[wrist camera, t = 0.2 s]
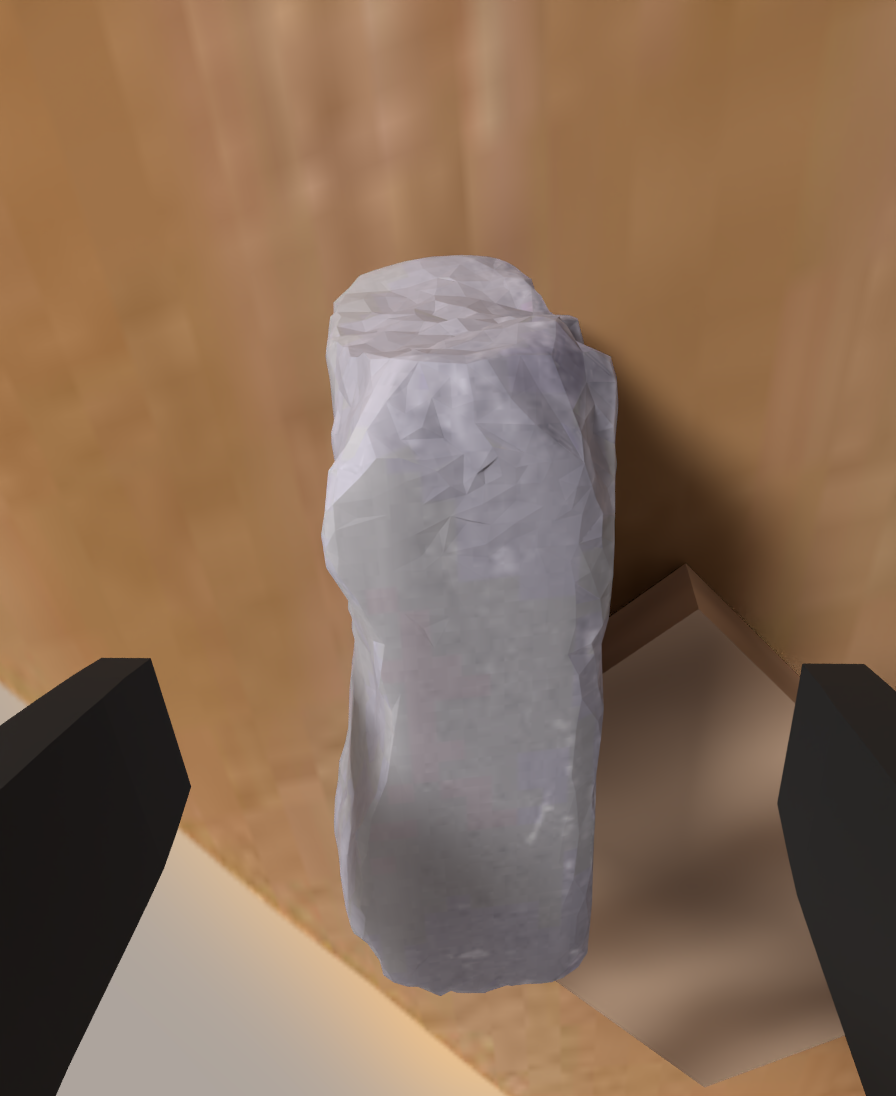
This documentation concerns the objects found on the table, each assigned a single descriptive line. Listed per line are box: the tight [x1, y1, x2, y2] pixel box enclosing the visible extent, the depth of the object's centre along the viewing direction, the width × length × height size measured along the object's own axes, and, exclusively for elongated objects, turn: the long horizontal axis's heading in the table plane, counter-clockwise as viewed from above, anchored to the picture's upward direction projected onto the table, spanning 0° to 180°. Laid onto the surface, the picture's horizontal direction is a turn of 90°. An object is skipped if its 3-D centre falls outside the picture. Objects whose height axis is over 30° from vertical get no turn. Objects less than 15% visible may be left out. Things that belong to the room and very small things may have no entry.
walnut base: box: [556, 563, 845, 1087], centre depth 24 cm, size 16×12×2 cm
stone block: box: [321, 255, 618, 996], centre depth 15 cm, size 12×5×10 cm, turn 0°
